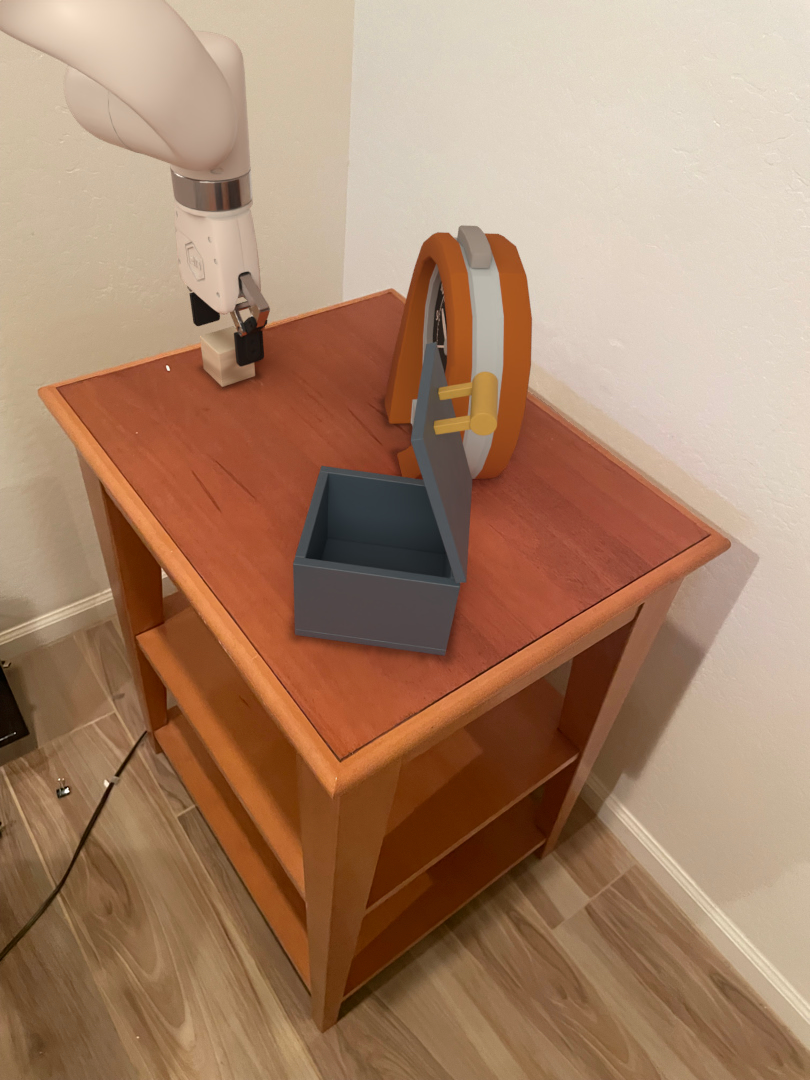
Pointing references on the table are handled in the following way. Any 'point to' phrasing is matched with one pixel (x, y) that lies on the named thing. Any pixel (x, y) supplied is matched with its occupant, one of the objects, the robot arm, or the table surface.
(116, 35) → the robot arm
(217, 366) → the block
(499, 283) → the alarm clock
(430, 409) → the lid
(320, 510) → the chest
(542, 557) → the table surface
